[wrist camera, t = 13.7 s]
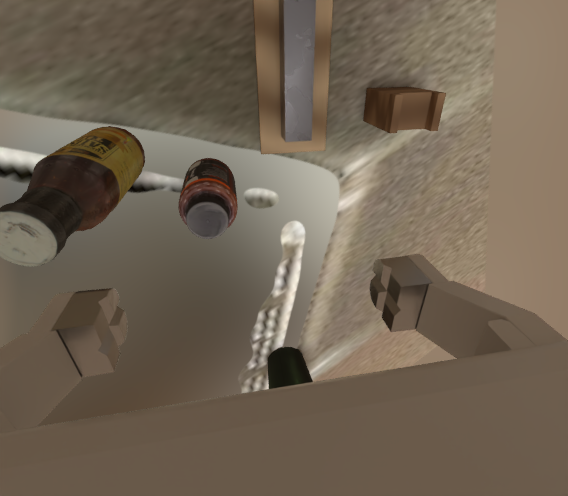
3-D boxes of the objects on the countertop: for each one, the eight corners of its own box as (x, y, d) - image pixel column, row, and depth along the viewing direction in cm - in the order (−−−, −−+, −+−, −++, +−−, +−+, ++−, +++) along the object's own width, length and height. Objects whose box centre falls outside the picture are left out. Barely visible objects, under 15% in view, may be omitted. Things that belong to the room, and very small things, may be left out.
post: (366, 88, 37) (395, 94, 31) (409, 86, 38) (446, 93, 32) (363, 120, 39) (389, 133, 33) (404, 118, 40) (437, 130, 34)
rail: (276, -104, 27) (282, -120, 25) (310, -102, 28) (319, -118, 25) (281, 136, 38) (285, 142, 35) (305, 134, 38) (311, 140, 36)
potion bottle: (314, 354, 60) (346, 455, 45) (283, 378, 62) (304, 482, 47) (286, 336, 56) (310, 440, 41) (253, 361, 58) (266, 469, 43)
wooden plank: (246, -138, 26) (246, -141, 26) (338, -132, 28) (340, -134, 27) (261, 153, 39) (261, 154, 39) (324, 149, 40) (325, 150, 40)
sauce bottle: (131, 117, 35) (49, 176, 18) (156, 171, 38) (106, 263, 21) (72, 132, 34) (-67, 206, 18) (102, 186, 38) (9, 290, 21)
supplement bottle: (179, 160, 38) (166, 195, 28) (230, 153, 38) (233, 186, 29) (191, 206, 41) (183, 252, 31) (237, 199, 42) (243, 242, 32)
